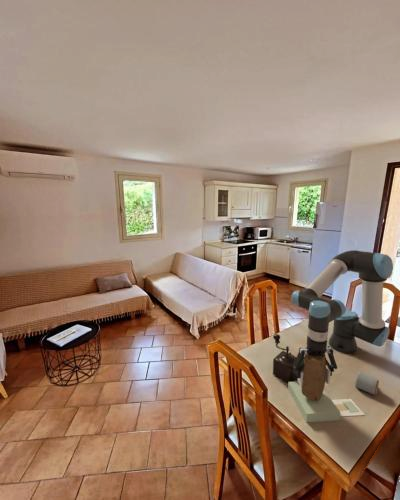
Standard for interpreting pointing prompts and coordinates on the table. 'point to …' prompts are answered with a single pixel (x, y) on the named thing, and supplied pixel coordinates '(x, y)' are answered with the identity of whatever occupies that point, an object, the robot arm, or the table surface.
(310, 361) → the block
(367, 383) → the grey cylinder
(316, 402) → the baseplate
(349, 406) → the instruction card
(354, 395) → the table surface
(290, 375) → the dark brown coffee grinder
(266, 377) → the table surface
